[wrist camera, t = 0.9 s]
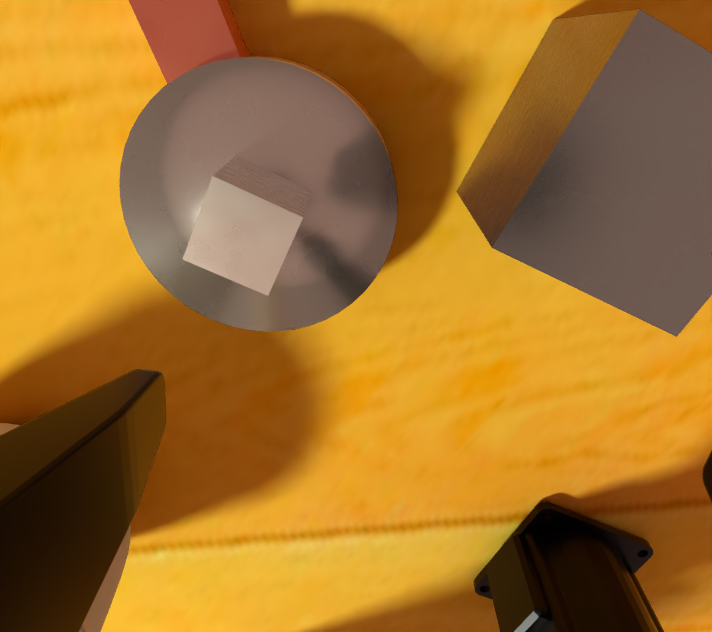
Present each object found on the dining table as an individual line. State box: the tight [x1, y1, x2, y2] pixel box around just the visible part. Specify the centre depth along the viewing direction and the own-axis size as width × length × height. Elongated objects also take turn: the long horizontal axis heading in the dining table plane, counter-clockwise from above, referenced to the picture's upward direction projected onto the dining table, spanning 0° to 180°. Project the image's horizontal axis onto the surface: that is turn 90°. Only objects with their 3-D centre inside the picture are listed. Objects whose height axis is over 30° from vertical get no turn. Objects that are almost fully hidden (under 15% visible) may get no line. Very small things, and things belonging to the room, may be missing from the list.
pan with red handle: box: [120, 0, 398, 331], centre depth 16 cm, size 18×9×5 cm, turn 20°
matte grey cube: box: [457, 9, 712, 337], centre depth 16 cm, size 6×6×6 cm
